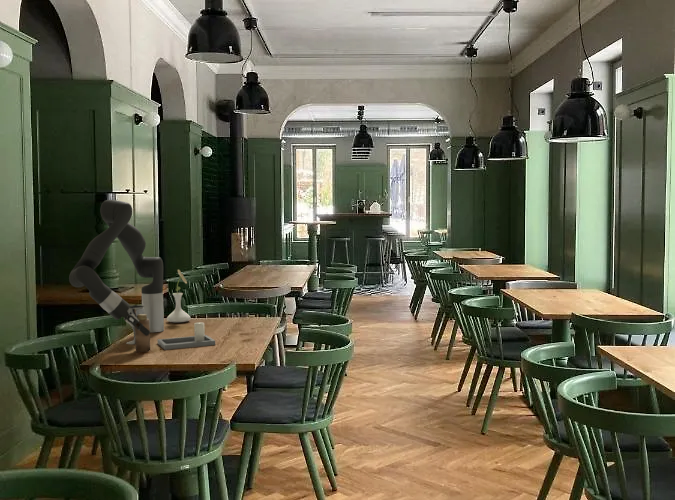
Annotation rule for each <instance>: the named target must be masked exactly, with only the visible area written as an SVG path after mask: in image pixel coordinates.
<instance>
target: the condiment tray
mask: <svg viewBox="0 0 675 500" xmlns="http://www.w3.org/2000/svg"><path fill="white" fill-rule="evenodd" d="M156 341H157V344H158V346H159V347H161V348H162V349H163V350H164V351H166V350H177V349H187V348H198V347H199V348H200V347H208V346H216V340H215V339H214V338H212V337H211V336H209V335H207V334H205V341H200V342H195V335H191V336H182V337H181V336H180V337H171V338H160V339H159V338H158V339H157V340H156Z"/></svg>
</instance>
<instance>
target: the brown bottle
mask: <svg viewBox="0 0 675 500" xmlns="http://www.w3.org/2000/svg"><path fill="white" fill-rule="evenodd" d="M137 319H138V320H140V323H141V324H143V326H144V327H145V328H146V329H148V330H149V331H150V325H149V319H147V314H139V315H137ZM139 325H140V324H139V323H138V324H137V325H136V326H137V327H138V326H139ZM135 343H136V344H135V352H137V353H144V351H146V352H150V351H151V332H150V333H149V334H148V336H146V335H144V334H143V333H142V332H141V331H140V330H138V329H137V328H136V327H135ZM149 350H150V351H149Z"/></svg>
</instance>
